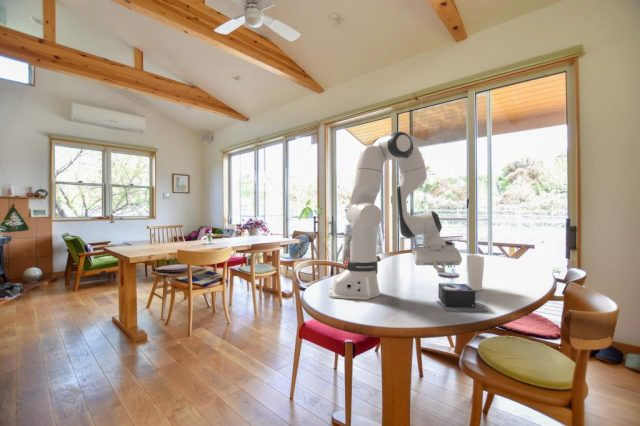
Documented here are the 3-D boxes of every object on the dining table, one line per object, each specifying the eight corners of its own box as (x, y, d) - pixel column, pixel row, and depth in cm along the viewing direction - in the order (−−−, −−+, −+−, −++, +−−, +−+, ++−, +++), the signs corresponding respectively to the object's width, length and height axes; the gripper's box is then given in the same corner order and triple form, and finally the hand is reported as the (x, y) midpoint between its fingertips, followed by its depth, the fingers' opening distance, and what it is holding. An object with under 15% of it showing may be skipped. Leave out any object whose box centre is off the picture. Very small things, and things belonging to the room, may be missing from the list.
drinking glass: (483, 292, 130) (483, 257, 130) (465, 290, 134) (465, 256, 133) (484, 288, 136) (484, 255, 136) (467, 287, 139) (467, 254, 139)
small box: (466, 282, 119) (476, 290, 109) (466, 299, 119) (476, 308, 109) (438, 282, 121) (445, 289, 110) (438, 298, 121) (445, 307, 111)
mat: (447, 312, 107) (447, 310, 107) (436, 302, 118) (436, 301, 118) (488, 312, 106) (488, 310, 106) (473, 302, 117) (473, 301, 117)
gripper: (412, 243, 140) (418, 268, 130) (457, 242, 139) (467, 268, 129) (410, 251, 144) (415, 276, 135) (454, 250, 143) (462, 276, 134)
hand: (441, 272), depth 132 cm, fingers closed
